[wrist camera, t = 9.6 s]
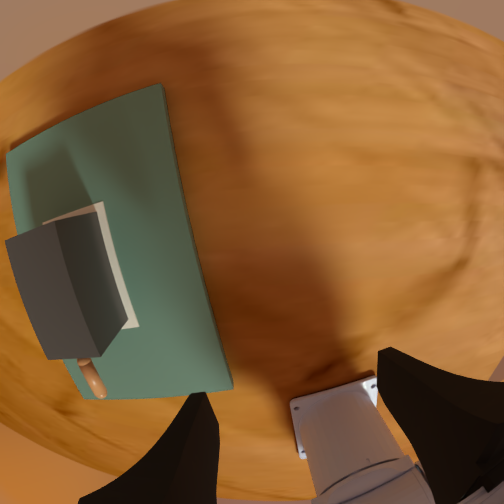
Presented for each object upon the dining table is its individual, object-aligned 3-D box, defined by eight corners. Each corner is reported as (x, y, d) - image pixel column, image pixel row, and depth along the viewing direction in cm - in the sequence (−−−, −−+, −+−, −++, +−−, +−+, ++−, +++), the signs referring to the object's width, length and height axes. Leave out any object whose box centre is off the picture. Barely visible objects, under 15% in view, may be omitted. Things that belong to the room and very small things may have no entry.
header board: (233, 381, 21) (233, 411, 17) (88, 392, 21) (74, 416, 17) (164, 87, 16) (150, 68, 12) (13, 154, 16) (-14, 152, 12)
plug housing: (146, 363, 19) (126, 406, 14) (99, 366, 19) (73, 405, 14) (96, 211, 16) (54, 220, 11) (49, 227, 16) (4, 240, 11)
